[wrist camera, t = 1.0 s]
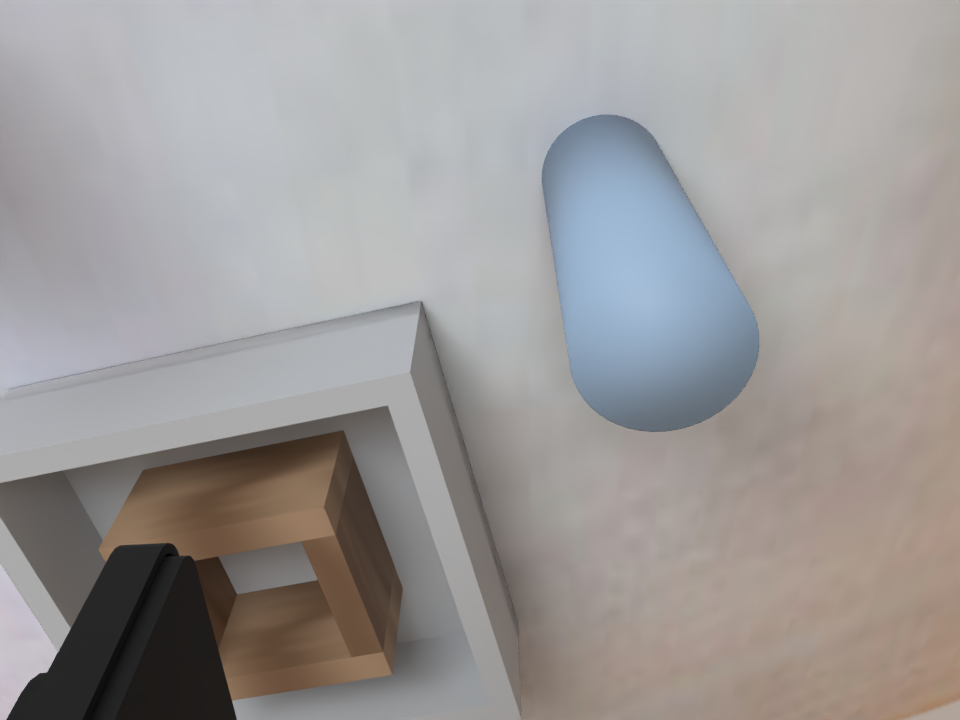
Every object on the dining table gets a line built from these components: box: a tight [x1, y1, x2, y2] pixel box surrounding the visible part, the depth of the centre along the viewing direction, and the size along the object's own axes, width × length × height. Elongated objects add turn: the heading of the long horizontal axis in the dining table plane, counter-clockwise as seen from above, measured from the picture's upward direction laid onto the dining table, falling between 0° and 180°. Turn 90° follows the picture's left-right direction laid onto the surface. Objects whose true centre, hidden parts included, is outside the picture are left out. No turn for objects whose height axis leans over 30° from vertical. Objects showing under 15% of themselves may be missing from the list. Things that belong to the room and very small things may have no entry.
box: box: [0, 301, 521, 720], centre depth 35 cm, size 16×16×5 cm
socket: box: [98, 430, 403, 701], centre depth 34 cm, size 8×8×4 cm
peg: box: [542, 115, 759, 432], centre depth 24 cm, size 4×4×12 cm
